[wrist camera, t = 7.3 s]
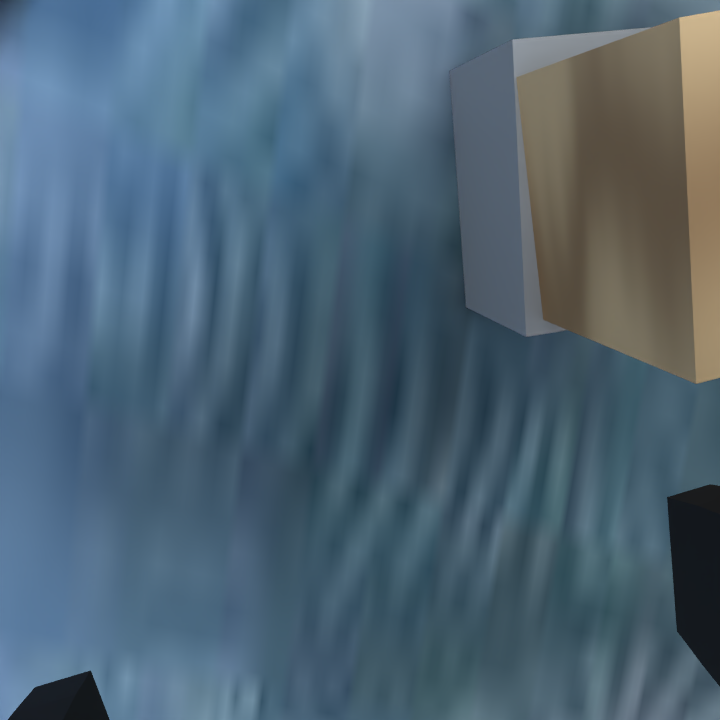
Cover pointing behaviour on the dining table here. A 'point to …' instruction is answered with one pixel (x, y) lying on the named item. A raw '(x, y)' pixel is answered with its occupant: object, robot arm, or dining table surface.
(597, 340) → the wooden cube
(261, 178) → the dining table surface
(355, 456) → the dining table surface
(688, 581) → the robot arm
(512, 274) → the grey block
